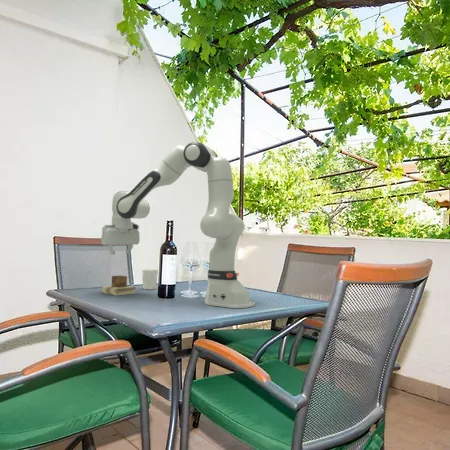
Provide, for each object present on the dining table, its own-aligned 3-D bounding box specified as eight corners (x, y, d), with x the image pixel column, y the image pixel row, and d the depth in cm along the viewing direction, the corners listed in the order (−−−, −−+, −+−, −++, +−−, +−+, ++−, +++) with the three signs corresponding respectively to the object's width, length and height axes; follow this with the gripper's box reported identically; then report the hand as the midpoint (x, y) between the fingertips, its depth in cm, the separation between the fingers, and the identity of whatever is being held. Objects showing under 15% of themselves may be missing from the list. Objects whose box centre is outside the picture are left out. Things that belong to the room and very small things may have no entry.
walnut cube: (126, 286, 202) (126, 276, 202) (118, 287, 198) (118, 277, 198) (120, 285, 205) (120, 275, 205) (111, 286, 201) (111, 276, 202)
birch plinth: (135, 293, 203) (135, 286, 203) (116, 295, 194) (116, 288, 194) (120, 290, 210) (121, 284, 210) (102, 292, 201) (102, 286, 201)
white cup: (139, 289, 217) (139, 269, 217) (146, 287, 224) (146, 268, 225) (152, 290, 215) (153, 270, 215) (159, 288, 222) (160, 269, 222)
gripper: (106, 224, 192) (106, 255, 192) (141, 225, 208) (141, 254, 208) (98, 224, 196) (97, 254, 196) (133, 225, 212) (132, 253, 212)
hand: (120, 254), depth 202 cm, fingers open, 8 cm apart
